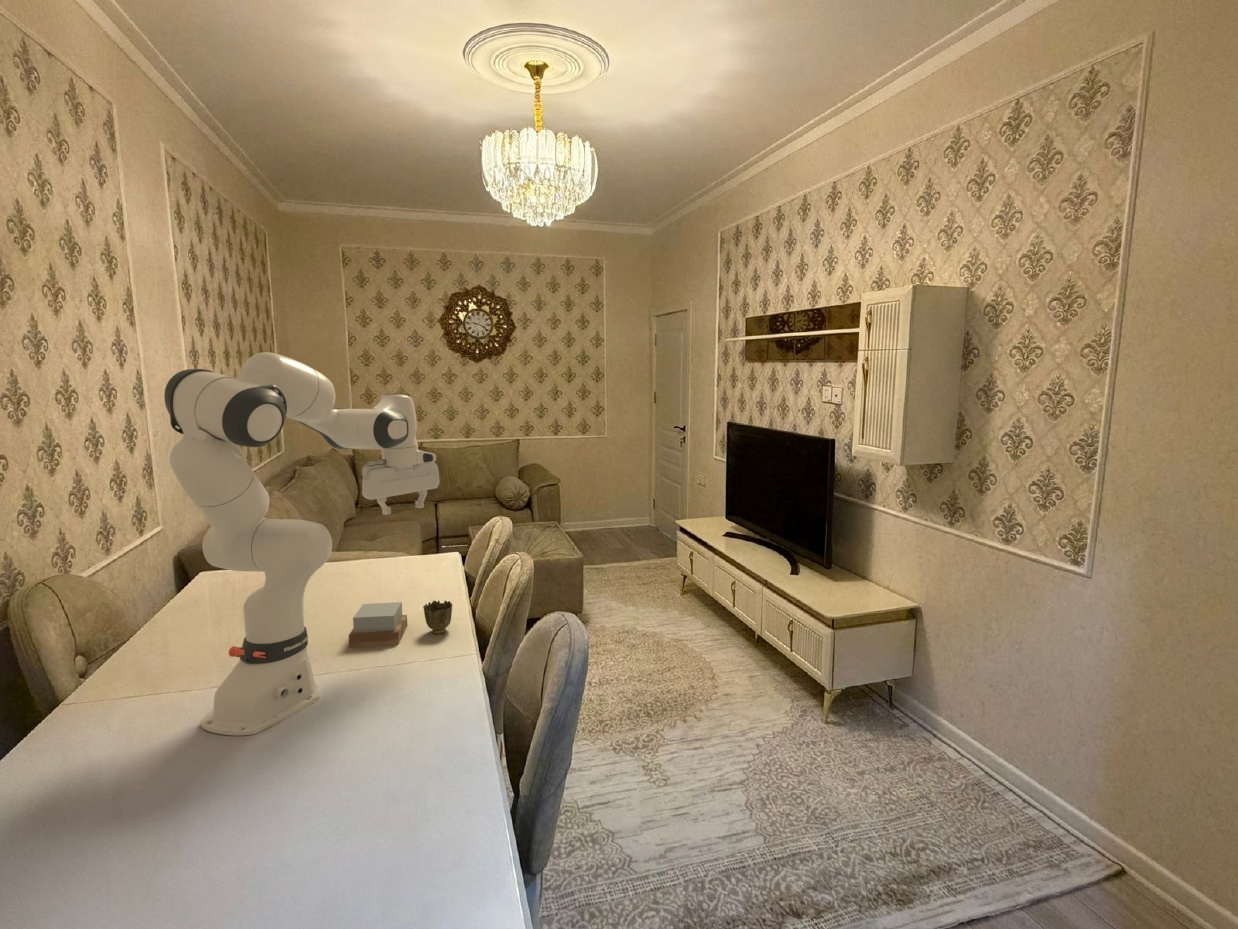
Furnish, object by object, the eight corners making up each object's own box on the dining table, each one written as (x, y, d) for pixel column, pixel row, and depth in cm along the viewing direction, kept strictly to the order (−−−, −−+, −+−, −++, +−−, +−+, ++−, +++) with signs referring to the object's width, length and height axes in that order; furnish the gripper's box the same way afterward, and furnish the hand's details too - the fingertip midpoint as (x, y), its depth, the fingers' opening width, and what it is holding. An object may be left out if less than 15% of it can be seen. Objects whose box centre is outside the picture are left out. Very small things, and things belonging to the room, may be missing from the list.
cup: (457, 628, 173) (456, 600, 171) (447, 639, 165) (446, 610, 164) (431, 627, 173) (429, 599, 172) (420, 638, 166) (418, 609, 165)
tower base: (398, 647, 162) (398, 632, 161) (349, 650, 160) (348, 635, 160) (407, 628, 174) (406, 615, 173) (361, 631, 172) (361, 617, 171)
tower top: (394, 630, 162) (393, 615, 162) (353, 632, 161) (352, 617, 160) (402, 616, 172) (401, 602, 172) (364, 618, 171) (363, 604, 170)
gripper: (368, 463, 151) (372, 520, 153) (441, 454, 166) (444, 505, 169) (355, 461, 155) (358, 516, 157) (427, 452, 170) (430, 502, 172)
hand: (403, 510), depth 163 cm, fingers open, 8 cm apart
